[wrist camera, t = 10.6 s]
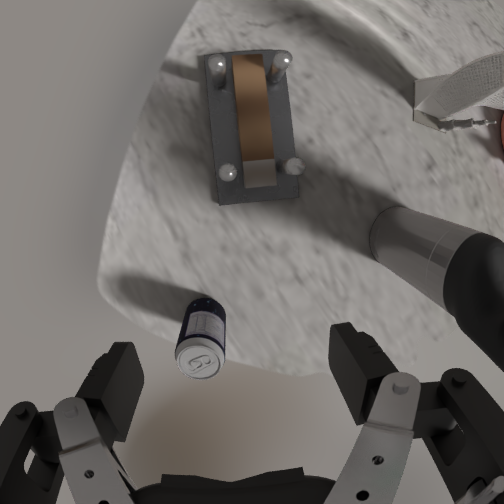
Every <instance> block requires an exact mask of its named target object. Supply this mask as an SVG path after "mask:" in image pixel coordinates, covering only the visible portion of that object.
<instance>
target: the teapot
mask: <svg viewBox="0 0 504 504" xmlns="http://www.w3.org/2000/svg"><path fill="white" fill-rule="evenodd" d="M501 138H502V144H503V148H504V115H503V117H502V122H501Z"/></svg>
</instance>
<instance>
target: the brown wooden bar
mask: <svg viewBox="0 0 504 504" xmlns="http://www.w3.org/2000/svg"><path fill="white" fill-rule="evenodd" d="M232 75H233V84H234V94H235V103H236V113H237V122H238V132H239V141H240V151H241V160H242V170H243V179H244V187H245V188H254V187H263V186H274V185H277V181H276V170H275V160H274V150H273V140H272V131H271V122H270V113H269V104H268V96H267V87H266V79H265V71H264V63H263V56H262V54H246V55H233V56H232Z"/></svg>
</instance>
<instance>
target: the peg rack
mask: <svg viewBox="0 0 504 504" xmlns="http://www.w3.org/2000/svg"><path fill="white" fill-rule="evenodd" d="M246 54H262V56H263V63H264V71H265V79H266V87H267V96H268V104H269V113H270V122H271V131H272V140H273V150H274V160H275V170H276V181H277V185H274V186H263V187H254V188H245V187H244V179H243V170H242V160H241V151H240V141H239V132H238V122H237V113H236V103H235V94H234V84H233V75H232V56H233V55H246ZM204 57H205V70H206V81H207V93H208V103H209V114H210V124H211V134H212V144H213V153H214V162H215V172H216V180H217V189H218V198H219V206H221V205H229V204H238V203H247V202H256V201H266V200H276V199H286V198H297V197H299V191H298V179H297V175H300V174H302V173H303V172H304V170H305V163H304V161H303V160H302V159H301V158H298V157H295V147H294V137H293V128H292V119H291V110H290V102H289V94H288V86H287V78H286V69H287V68H288V66H289V64H290V63H291V61H292V55H291V53H289V52H288V51H286V50H260V51H242V52H230V53H220V54H211V55H204Z"/></svg>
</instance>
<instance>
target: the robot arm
mask: <svg viewBox="0 0 504 504" xmlns="http://www.w3.org/2000/svg"><path fill="white" fill-rule="evenodd" d="M370 248H371V251H372V254H373V255H374V257H375V259H376V260H377V261H378V262H379V263H381V264H382V265H384V266H385V267H387V268H388V269H389V270H391V271H392V272H393V273H395V274H396V275H398V276H399V277H401V278H402V279H403V280H405V281H406V282H408V283H409V284H410V285H412V286H413V287H415V288H416V289H417V290H419V291H420V292H421V293H423V294H424V295H426V296H427V297H428V298H430V299H431V300H432V301H434V302H435V303H436V304H438V305H439V306H440V307H442V308H443V309H444V310H446V311H447V312H448V313H450V314H451V315H452V316H454V317H455V319H456V321H457V324H458V325H459V327H460V329H461V330H462V331H463V332H464V333H465V334H466V335H467V336H468V337H469V338H470V339H471V340H472V341H473V342H474V343H475V344H476V345H477V346H478V347H479V348H480V349H481V350H482V351H483V352H484V353H485V354H486V355H488V357H489V358H490V359H491V360H492V361H493V362H494V363H495V364H496V365H497V366H498V367H499V368H500V369H501V370H502V371H503V372H504V243H503V242H502V241H501V240H500V239H498V238H496V237H494V236H491V235H488V234H485V233H482V232H480V231H477V230H474V229H471V228H468V227H465V226H462V225H459V224H456V223H453V222H449V221H446V220H443V219H440V218H437V217H434V216H430V215H427V214H424V213H420V212H417V211H414V210H410V209H407V208H403V207H392V208H389V209H387V210H385V211H384V212H382V213H381V214H380V215H379V216H378V218H377V219H376V221H375V222H374V224H373V226H372V230H371V233H370ZM328 359H329V366H330V369H331V372H332V374H333V376H334V378H335V380H336V382H337V384H338V386H339V388H340V391H341V393H342V395H343V397H344V399H345V401H346V403H347V406H348V408H349V410H350V412H351V414H352V417H353V419H354V421H355V423H356V425H361V424H364V425H363V427H362V430H361V432H360V434H359V436H358V439H357V441H356V443H355V445H354V447H353V449H352V452H351V454H350V456H349V458H348V460H347V462H346V464H345V466H344V468H343V470H342V472H341V474H340V475H339V477H338V479H337V481H334V480H331V479H328V478H324V477H319V476H308V475H304V472H303V468H302V467H299V468H293V469H287V470H280V471H272V472H266V473H263V474H259V475H256V476H253V477H249V478H246V479H242V480H238V481H234V482H226V481H219V480H214V479H209V478H204V477H199V476H192V475H169V474H162V478H161V483H156V484H152V485H148V486H145V487H143V488H140V489H138V488H137V487H136V486H135V484H134V483H133V481H132V480H131V478H130V476H129V475H128V473H127V471H126V469H125V468H124V466H123V464H122V463H121V461H120V459H119V457H118V455H117V454H116V452H115V450H114V448H113V447H112V446H113V443H114V441H119V442H125V441H126V437H127V434H128V431H129V428H130V424H131V421H132V418H133V415H134V412H135V409H136V406H137V403H138V400H139V397H140V394H141V391H142V388H143V385H144V374H143V370H142V367H141V364H140V361H139V358H138V355H137V352H136V349H135V346H134V344H133V343H132V342H114V343H113V345H112V347H111V348H110V350H109V352H108V353H104V354H103V355H102V356H101V357H100V358H98V359H97V360H96V361H95V363H94V365H93V366H92V370H90V372H89V373H88V376H87V377H86V378H85V380H84V382H83V383H82V385H81V387H80V389H79V391H78V392H77V394H76V396H75V397H70V398H66V399H64V400H62V401H60V402H59V403H58V404H57V405H56V406H55V408H54V411H44V412H38V410H37V408H36V407H35V405H34V404H33V403H31V402H28V401H24V402H20V403H18V404H16V405H14V406H13V407H12V408H11V410H10V411H9V412H8V414H7V416H6V417H5V419H4V421H3V422H2V424H1V426H0V504H56V501H57V497H58V494H59V490H60V487H61V484H62V481H63V477H64V474H65V477H66V480H67V482H68V485H69V488H70V491H71V493H72V495H73V498H74V501H75V503H76V504H392V502H393V499H394V497H395V494H396V491H397V489H398V486H399V483H400V480H401V477H402V474H403V471H404V468H405V465H406V461H407V458H408V454H409V451H410V447H411V443H412V439H416V438H422V439H423V441H424V443H425V445H426V446H427V448H428V450H429V452H430V454H431V456H432V458H433V460H434V462H435V464H436V466H437V468H438V470H439V472H440V474H441V476H442V478H443V480H444V482H445V484H446V486H447V488H448V490H449V492H450V494H451V496H452V499H453V501H454V504H504V411H503V410H502V409H501V408H500V406H499V405H498V404H497V403H496V402H495V400H494V399H493V398H492V397H491V396H490V394H489V393H488V392H487V391H486V390H485V389H484V387H483V386H482V385H481V384H480V383H479V381H478V380H477V379H476V378H475V377H474V376H473V375H472V374H471V373H470V372H468V371H467V370H464V369H460V368H452V369H449V370H447V371H445V372H444V374H443V375H442V377H441V380H440V381H438V382H426V383H420V382H419V380H418V379H417V378H416V377H415V376H413V375H411V374H408V373H404V372H399V371H398V370H397V368H396V367H395V366H394V364H393V363H392V362H391V360H390V359H389V358H388V356H387V355H386V354H385V353H384V352H383V350H382V349H381V347H380V346H378V343H377V342H376V341H375V340H374V338H373V337H372V336H370V335H368V334H366V333H365V332H357V331H356V330H355V328H354V327H353V325H352V324H351V323H350V322H346V323H340V324H334V325H331V327H330V339H329V354H328ZM458 425H459V426H458ZM460 428H461V429H460ZM462 431H463V432H462ZM30 449H31V450H32V451H33V452H34V453H35V456H34V458H33V461H32V463H31V465H30V468H29V471H28V473H27V474H26V472H25V470H24V462H25V459H26V457H27V455H28V452H29V450H30Z"/></svg>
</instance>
